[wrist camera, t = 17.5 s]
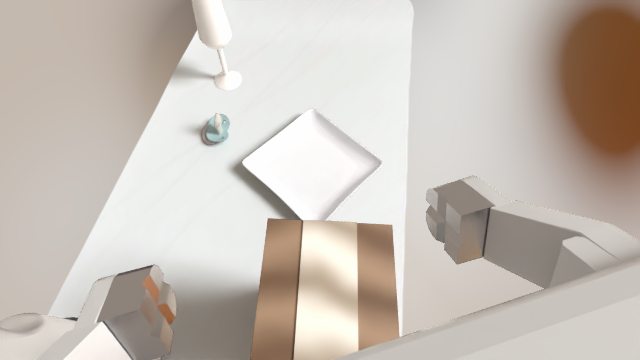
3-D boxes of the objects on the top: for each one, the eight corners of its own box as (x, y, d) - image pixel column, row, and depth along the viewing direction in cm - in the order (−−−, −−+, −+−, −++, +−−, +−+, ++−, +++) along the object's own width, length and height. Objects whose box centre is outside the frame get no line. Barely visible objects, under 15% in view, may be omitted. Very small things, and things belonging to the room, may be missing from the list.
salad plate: (382, 169, 72) (386, 160, 69) (314, 237, 65) (315, 231, 62) (311, 114, 79) (311, 104, 76) (241, 170, 71) (238, 162, 68)
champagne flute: (227, 66, 85) (202, -33, 64) (247, 78, 83) (227, -19, 62) (208, 81, 82) (174, -16, 61) (228, 94, 81) (200, -2, 60)
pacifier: (201, 148, 73) (228, 147, 73) (191, 130, 68) (221, 129, 68) (205, 121, 77) (231, 120, 77) (196, 102, 71) (224, 101, 72)
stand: (361, 373, 54) (402, 379, 31) (273, 369, 53) (248, 371, 30) (360, 277, 61) (392, 224, 38) (282, 273, 61) (267, 217, 38)
